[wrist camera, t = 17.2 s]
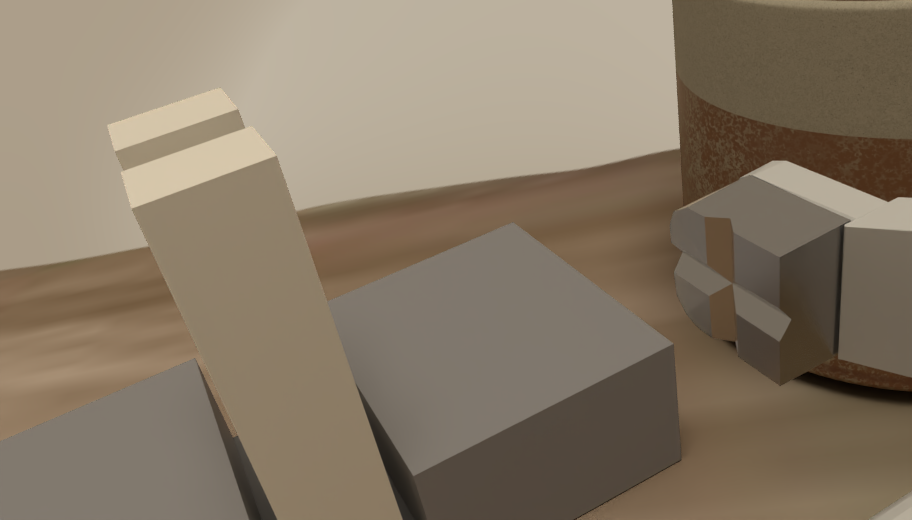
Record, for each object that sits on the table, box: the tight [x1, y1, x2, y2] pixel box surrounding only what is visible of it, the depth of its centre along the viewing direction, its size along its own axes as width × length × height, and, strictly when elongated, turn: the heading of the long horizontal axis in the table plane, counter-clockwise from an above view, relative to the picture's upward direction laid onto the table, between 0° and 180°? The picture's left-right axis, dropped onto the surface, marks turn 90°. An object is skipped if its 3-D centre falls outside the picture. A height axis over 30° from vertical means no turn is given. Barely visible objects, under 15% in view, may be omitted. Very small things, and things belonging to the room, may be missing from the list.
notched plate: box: [107, 88, 403, 520], centre depth 22 cm, size 3×6×14 cm, turn 26°
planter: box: [672, 0, 912, 391], centre depth 29 cm, size 16×16×14 cm
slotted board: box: [0, 222, 681, 520], centre depth 27 cm, size 22×10×5 cm, turn 116°
